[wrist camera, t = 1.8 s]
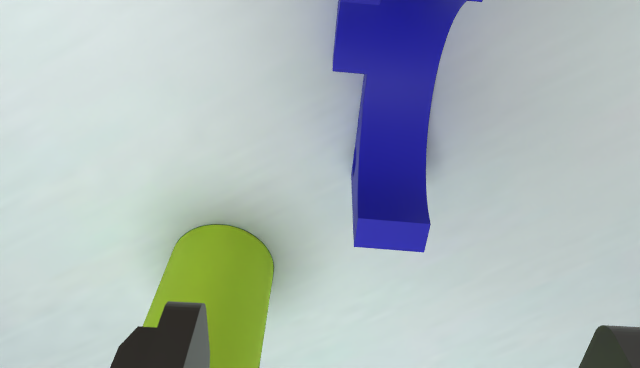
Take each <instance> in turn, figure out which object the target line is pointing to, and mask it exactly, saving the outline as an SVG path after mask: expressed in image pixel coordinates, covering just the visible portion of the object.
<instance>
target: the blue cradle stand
mask: <svg viewBox="0 0 640 368" xmlns="http://www.w3.org/2000/svg"><path fill="white" fill-rule="evenodd" d="M466 1H477V2H482V0H339V1H338V11H337V22H336V32H335V43H334V54H333V71H336V72H348V73H360V74H364V80H363V88H362V96H361V104H360V111H359V119H358V127H357V135H356V143H355V150H354V158H353V166H352V174H351V180H352V207H353V234H354V247H364V248H377V249H390V250H402V251H415V252H424V250H425V246H426V241H427V237H428V233H429V228H430V219H429V213H428V206H427V195H426V148H427V134H428V124H429V115H430V108H431V101H432V95H433V89H434V84H435V79H436V74H437V70H438V65H439V61H440V57H441V54H442V50H443V47H444V44H445V41H446V38H447V35H448V32H449V29H450V27H451V25H452V22H453V20H454V18H455V16H456V14H457V13H458V11H459V9H460V8H461V7H462V5H463V4H464V3H465V2H466Z"/></svg>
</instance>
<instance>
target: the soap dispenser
mask: <svg viewBox="0 0 640 368" xmlns="http://www.w3.org/2000/svg"><path fill="white" fill-rule="evenodd" d="M273 272H274V266H273V260H272V257H271V255H270V253H269V251H268V249H267V248H266V247H265V245H264V244H263V243H262V242H261V241H260V240H259V239H257V238H256V237H255V236H253V235H252V234H250V233H248V232H246V231H244V230H242V229H239V228H236V227H232V226H227V225H207V226H202V227H198V228H196V229H193V230H191V231H189V232H188V233H186V234H185V235H184V236H182V237H181V238H180V239H179V241H178V242H177V243H176V245H175V247H174V249H173V252H172V254H171V257H170V259H169V262H168V264H167V267H166V269H165V272H164V274H163V277H162V279H161V282H160V284H159V287H158V289H157V292H156V294H155V297H154V299H153V302H152V304H151V307H150V309H149V312H148V314H147V317H146V319H145V322H144V324H143V327H157V326H158V323H159V320H160V317H161V314H162V312H163V309H164V306H165V305H166V303H167V302H168V301H173V302H192V303H205V305H206V312H207V323H208V335H209V346H210V368H259V365H260V358H261V352H262V345H263V338H264V332H265V325H266V318H267V312H268V305H269V299H270V292H271V285H272V279H273Z"/></svg>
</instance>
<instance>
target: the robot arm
mask: <svg viewBox="0 0 640 368" xmlns="http://www.w3.org/2000/svg"><path fill="white" fill-rule="evenodd" d="M110 368H210V346H209V335H208V323H207V312H206V305H205V303H192V302H173V301H168V302H167V303H166V305H165V306H164V309H163V312H162V314H161V317H160V320H159V323H158V326H157V327H137V328H136V329H135V330H134V331H133V332H132V333H131V334H130V336H129V337H128V338H127V339H126V340H125V341H124V342H123V343H122V344H121V345H120V346H119V348H118V350H117V353H116V355H115V357H114V360H113V362H112V364H111V367H110ZM579 368H640V327H624V326H605V325H602V326H600V327H598V328H597V330H596V331H595V333H594V336H593V338H592V340H591V342H590V344H589V346H588V349H587V351H586V353H585V355H584V357H583V360H582V362H581V364H580V366H579Z"/></svg>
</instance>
